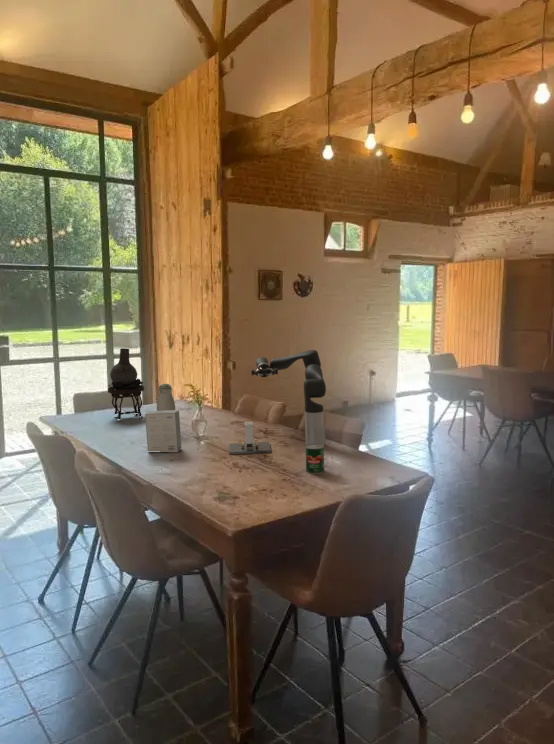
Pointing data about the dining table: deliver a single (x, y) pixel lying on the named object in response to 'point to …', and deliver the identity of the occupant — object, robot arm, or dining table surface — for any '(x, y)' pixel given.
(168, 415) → the hard drive box
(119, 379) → the brazier
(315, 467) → the canned tomato
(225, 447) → the dining table surface
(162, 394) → the grey bottle
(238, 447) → the pin tray
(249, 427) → the block
